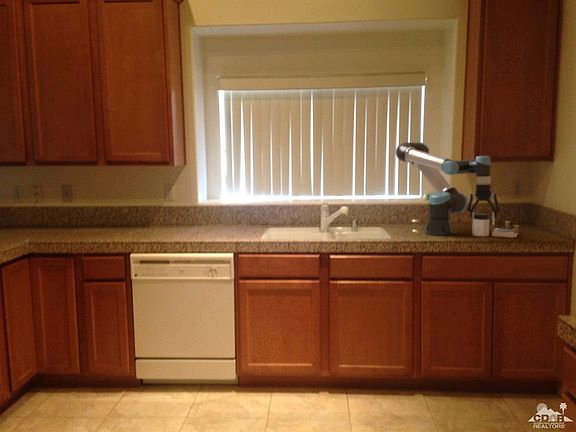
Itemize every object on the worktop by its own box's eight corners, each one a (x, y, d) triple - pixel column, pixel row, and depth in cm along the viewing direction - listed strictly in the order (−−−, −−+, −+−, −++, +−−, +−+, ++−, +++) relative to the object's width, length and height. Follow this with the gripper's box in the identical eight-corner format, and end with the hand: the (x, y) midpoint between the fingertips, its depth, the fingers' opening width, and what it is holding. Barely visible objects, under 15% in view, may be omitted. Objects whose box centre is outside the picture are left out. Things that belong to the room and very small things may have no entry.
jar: (470, 235, 283) (471, 214, 281) (473, 233, 290) (474, 212, 288) (486, 237, 278) (488, 215, 276) (490, 234, 285) (491, 213, 283)
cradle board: (489, 235, 282) (489, 224, 281) (493, 231, 295) (494, 220, 294) (517, 237, 275) (518, 226, 274) (521, 233, 288) (521, 222, 287)
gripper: (460, 184, 282) (461, 224, 285) (504, 184, 271) (504, 225, 273) (463, 183, 288) (464, 222, 291) (506, 183, 277) (506, 223, 280)
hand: (483, 223), depth 282 cm, fingers open, 10 cm apart
